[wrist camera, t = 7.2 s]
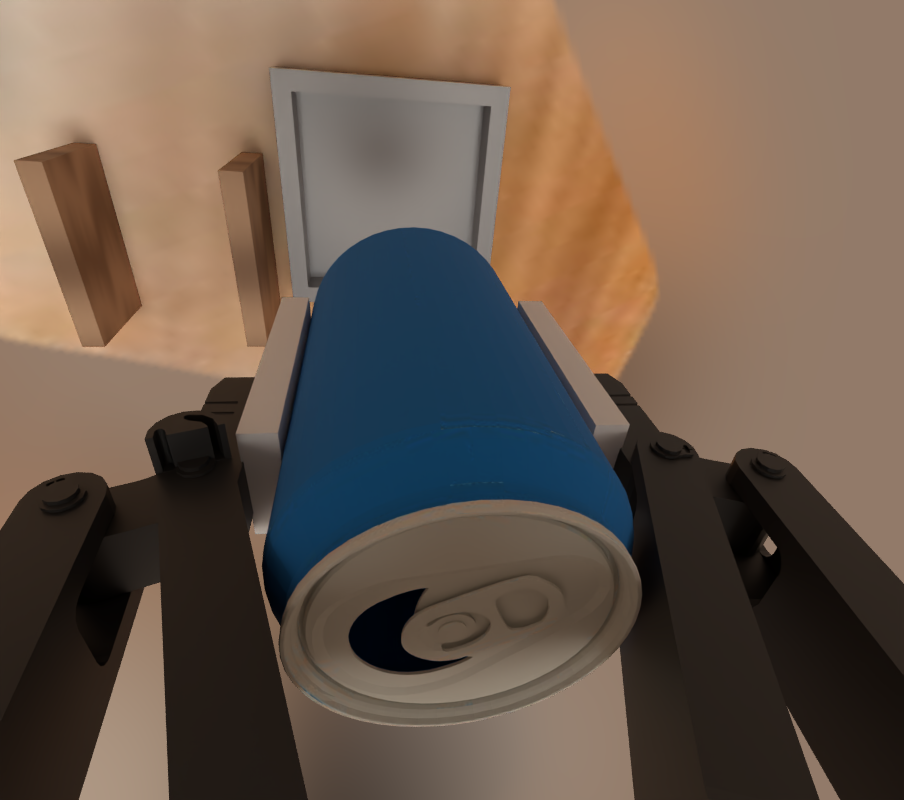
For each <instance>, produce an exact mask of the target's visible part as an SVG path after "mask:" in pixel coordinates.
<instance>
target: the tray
mask: <svg viewBox="0 0 904 800" xmlns="http://www.w3.org/2000/svg"><path fill="white" fill-rule="evenodd" d="M269 72H270V82H271V91H272V100H273V110H274V119H275V129H276V138H277V148H278V157H279V167H280V176H281V186H282V195H283V204H284V214H285V223H286V233H287V242H288V252H289V261H290V271H291V280H292V290H293V297H305V298H309V302H315V298H316V295H317V291H318V288H319V286H320V284H321V282H322V279H323V277H324V276H325V274H326V273H327V271H328V270H329V268H330V267H331V265H332V264H333V263H334V262H335V261H336V260H337V258H338V257H339V256H341V255H342V254H343V253H344V252H345V251H346V250H347V249H348V248H350V247H351V246H353V245H354V244H356V243H358V242H359V241H361V240H363V239H365V238H367V237H369V236H371V235H373V234H376V233H380V232H383V231H386V230H391V229H397V228H408V227H417V228H428V229H433V230H437V231H441V232H444V233H447V234H449V235H452V236H455V237H457V238H458V239H460V240H462V241H464V242H466V243H467V244H469V245H470V246H471V247H473V248H474V249H475V250H477V251H478V252H479V253H480V254H481V255H482V256H483V257H484V258H485V259H486V260H487V262H488V263H489V264H490V261H491V252H492V244H493V235H494V226H495V218H496V209H497V201H498V192H499V183H500V175H501V166H502V158H503V149H504V140H505V132H506V123H507V115H508V106H509V97H510V89H511V87H507V86H502V85H492V84H480V83H468V82H455V81H443V80H431V79H419V78H406V77H394V76H382V75H370V74H358V73H345V72H333V71H321V70H309V69H296V68H284V67H270V68H269Z"/></svg>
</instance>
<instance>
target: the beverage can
mask: <svg viewBox="0 0 904 800" xmlns="http://www.w3.org/2000/svg"><path fill="white" fill-rule="evenodd" d="M633 542H634V527H633V516H632V510H631V507H630V503H629V500H628V497H627V493H626V491H625V489H624V487H623V485H622V484H621V482H620V480H619V478H618V476H617V475H616V473H615V471H614V470H613V468H612V466H611V465H610V463H609V461H608V460H607V458H606V456H605V455H604V453H603V451H602V450H601V448H600V446H599V445H598V443H597V441H596V440H595V438H594V436H593V435H592V433H591V431H590V430H589V428H588V426H587V425H586V423H585V421H584V420H583V418H582V416H581V415H580V413H579V411H578V410H577V408H576V406H575V405H574V403H573V401H572V400H571V398H570V396H569V395H568V393H567V391H566V390H565V388H564V386H563V385H562V383H561V381H560V380H559V378H558V376H557V375H556V373H555V371H554V370H553V368H552V366H551V365H550V363H549V361H548V360H547V358H546V356H545V355H544V353H543V351H542V350H541V348H540V346H539V345H538V343H537V341H536V340H535V338H534V336H533V335H532V333H531V331H530V330H529V328H528V326H527V325H526V323H525V321H524V320H523V318H522V316H521V315H520V313H519V311H518V310H517V308H516V306H515V305H514V303H513V301H512V300H511V298H510V296H509V295H508V293H507V291H506V290H505V288H504V286H503V285H502V283H501V281H500V280H499V278H498V276H497V275H496V273H495V271H494V270H493V268H492V267H491V266H490V264H489V263H488V262H487V260H486V259H485V258H484V257H483V256H482V255H481V254H480V253H479V252H478V251H477V250H475V249H474V248H473V247H471V246H470V245H469V244H467V243H466V242H464V241H462V240H460V239H458V238H457V237H455V236H452V235H449V234H447V233H444V232H441V231H437V230H433V229H428V228H417V227H408V228H397V229H391V230H386V231H383V232H380V233H376V234H373V235H371V236H369V237H367V238H365V239H363V240H361V241H359V242H358V243H356V244H354V245H353V246H351V247H350V248H348V249H347V250H346V251H345V252H344V253H343V254H342V255H341V256H339V257H338V258H337V260H336V261H335V262H334V263H333V264H332V265H331V267H330V268H329V270H328V271H327V273H326V274H325V276H324V277H323V279H322V282H321V284H320V286H319V288H318V291H317V295H316V298H315V302H314V307H313V311H312V316H311V321H310V326H309V331H308V336H307V341H306V345H305V350H304V355H303V360H302V365H301V370H300V375H299V379H298V384H297V389H296V394H295V399H294V404H293V409H292V414H291V418H290V423H289V428H288V433H287V438H286V443H285V448H284V452H283V457H282V462H281V467H280V472H279V477H278V482H277V486H276V491H275V496H274V501H273V506H272V511H271V516H270V521H269V525H268V530H267V535H266V540H265V545H264V551H263V562H262V570H263V579H264V586H265V591H266V595H267V598H268V600H269V603H270V606H271V609H272V612H273V614H274V616H275V617H276V619H277V620H278V622H279V624H280V626H281V627H280V635H279V652H280V659H281V661H282V664H283V667H284V670H285V672H286V673H287V675H288V676H289V678H290V679H291V681H292V683H293V684H295V685H296V687H297V688H298V689H299V690H300V691H301V692H302V693H303V694H305V695H306V696H307V697H309V698H310V699H311V700H313V701H314V702H316V703H317V704H319V705H321V706H323V707H325V708H327V709H328V710H331V711H333V712H336V713H338V714H341V715H343V716H346V717H350V718H353V719H357V720H360V721H365V722H370V723H376V724H382V725H392V726H409V727H427V726H443V725H453V724H460V723H467V722H473V721H478V720H483V719H488V718H492V717H496V716H500V715H503V714H507V713H510V712H513V711H516V710H519V709H522V708H525V707H528V706H531V705H533V704H535V703H538V702H540V701H542V700H545V699H547V698H549V697H551V696H553V695H555V694H557V693H559V692H561V691H563V690H565V689H567V688H569V687H570V686H572V685H574V684H575V683H577V682H579V681H580V680H582V679H583V678H584V677H586V676H587V675H589V674H590V673H591V672H593V671H594V670H596V669H597V668H598V667H599V666H600V665H601V664H603V663H604V662H605V661H606V660H607V659H608V658H609V657H610V656H611V655H612V654H613V653H614V652H615V651H616V650H617V649H618V648H619V647H620V645H621V644H622V643H623V641H624V640H625V639H626V637H627V636H628V634H629V633H630V631H631V629H632V627H633V625H634V623H635V622H636V619H637V616H638V613H639V610H640V607H641V600H642V585H641V579H640V576H639V573H638V570H637V567H636V565H635V563H634V561H633V559H632V558H631V557H632V551H633Z"/></svg>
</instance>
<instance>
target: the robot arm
mask: <svg viewBox="0 0 904 800" xmlns="http://www.w3.org/2000/svg"><path fill="white" fill-rule="evenodd" d="M517 310H518V311H519V313H520V315H521V316H522V318H523V320H524V321H525V323H526V325H527V326H528V328H529V330H530V331H531V333H532V335H533V336H534V338H535V340H536V341H537V343H538V345H539V346H540V348H541V350H542V351H543V353H544V355H545V356H546V358H547V360H548V361H549V363H550V365H551V366H552V368H553V370H554V371H555V373H556V375H557V376H558V378H559V380H560V381H561V383H562V385H563V386H564V388H565V390H566V391H567V393H568V395H569V396H570V398H571V400H572V401H573V403H574V405H575V406H576V408H577V410H578V411H579V413H580V415H581V416H582V418H583V420H584V421H585V423H586V425H587V426H588V428H589V430H590V431H591V433H592V435H593V436H594V438H595V440H596V441H597V443H598V445H599V446H600V448H601V450H602V451H603V453H604V455H605V456H606V458H607V460H608V461H609V463H610V465H611V466H612V468H613V470H614V471H615V473H616V475H617V476H618V478H619V480H620V482H621V484H622V485H623V487H624V489H625V491H626V493H627V497H628V500H629V503H630V507H631V510H632V516H633V527H634V542H633V551H632V557H631V558H632V559H633V561H634V563H635V565H636V567H637V570H638V573H639V576H640V579H641V585H642V600H641V607H640V610H639V613H638V616H637V619H636V622H635V623H634V625H633V627H632V629H631V631H630V633H629V634H628V636H627V637H626V639H625V640H624V641H623V643H622V644H621V645H620V654H621V664H622V674H623V685H624V695H625V705H626V715H627V726H628V736H629V747H630V757H631V766H632V777H633V787H634V798H635V800H819V797H818V794H817V791H816V788H815V785H814V783H813V780H812V777H811V774H810V771H809V768H808V766H807V763H806V760H805V757H804V754H803V751H802V748H801V746H800V743H799V740H798V737H797V734H796V731H795V729H794V726H793V723H792V720H791V717H790V714H789V711H790V712H791V714H792V716H793V718H794V720H795V721H796V723H797V725H798V726H799V728H800V730H801V732H802V734H803V735H804V737H805V739H806V741H807V742H808V744H809V746H810V748H811V749H812V751H813V753H814V755H815V756H816V758H817V760H818V761H819V763H820V765H821V767H822V769H823V770H824V772H825V774H826V776H827V777H828V779H829V781H830V783H831V784H832V786H833V788H834V789H835V791H836V793H837V795H838V797H839V798H840V800H904V584H903V582H902V581H901V580H900V579H899V578H898V577H897V576H896V575H895V574H894V573H893V572H892V571H891V569H890V568H889V567H888V566H887V565H886V564H885V563H884V562H883V561H882V560H881V559H880V558H879V557H878V555H877V554H876V553H875V552H874V551H873V550H872V549H871V548H870V547H869V546H868V545H867V544H866V543H865V542H864V541H863V539H862V538H861V537H860V536H859V535H858V534H857V533H856V532H855V531H854V530H853V529H852V527H850V525H849V524H848V523H847V522H846V521H845V520H844V519H843V518H842V517H841V516H840V515H839V513H838V512H837V511H836V510H835V509H834V508H833V507H832V506H831V505H830V504H829V503H828V502H827V501H826V499H825V498H824V497H823V496H822V495H821V494H820V493H819V492H818V491H817V490H816V489H815V488H814V487H813V485H812V484H811V483H810V482H809V481H808V480H807V479H806V478H805V477H804V476H803V475H802V474H801V472H800V471H799V470H798V469H797V468H796V467H795V466H793V465H792V464H791V463H790V462H789V461H787V460H786V459H784V458H782V457H780V456H778V455H777V454H775V453H772V452H769V451H766V450H761V449H754V448H748V449H741V450H740V451H739V452H737V453H736V455H735V457H734V459H733V461H732V463H731V464H729V463H724V462H718V461H712V460H707V459H702V458H699V456H698V454H697V452H696V451H695V449H694V448H693V447H692V446H691V445H690V444H689V443H687V442H686V441H685V440H683V439H680V438H678V437H676V436H674V435H671V434H667V433H663V432H659V430H658V429H657V428H656V426H655V425H654V424H653V423H652V421H651V420H650V419H649V418H648V416H647V415H646V414H645V412H644V411H643V410H642V409H641V407H640V406H637V402H636V401H635V400H634V398H633V397H630V393H629V392H628V391H627V389H626V388H625V387H624V386H623V384H622V383H621V382H619V381H618V380H616V379H615V378H613V377H612V376H610V375H609V374H593V372H592V371H591V370H590V368H589V367H588V365H587V364H586V363H585V361H584V360H583V358H582V357H581V356H580V354H579V353H578V351H577V350H576V349H575V347H574V346H573V344H572V343H571V342H570V340H569V339H568V338H567V336H566V335H565V333H564V332H563V331H562V329H561V328H560V326H559V325H558V324H557V322H556V321H555V319H554V318H553V317H552V315H551V314H550V312H549V311H548V310H547V308H546V307H545V305H544V304H543V303H542V301H519V302H518V308H517ZM310 321H311V314H310V303H309V298H305V297H282V300H281V303H280V306H279V309H278V311H277V314H276V317H275V320H274V323H273V326H272V329H271V332H270V335H269V338H268V341H267V344H266V346H265V349H264V352H263V355H262V358H261V361H260V364H259V367H258V370H257V373H256V376H255V377H241V378H224V379H223V380H222V381H220V382H219V383H218V384H217V385H216V386H214V387H213V388H212V389H211V390H210V392H209V394H208V397H207V399H206V401H205V404H204V405H203V407H202V410H201V411H188V412H181V413H177V414H174V415H170V416H168V417H166V418H164V419H162V420H160V421H159V422H156V423H155V424H154V425H153V426H152V427H151V428H150V429H149V430H148V431H147V434H146V437H145V442H146V445H147V448H148V451H149V454H150V457H151V460H152V463H153V466H154V470H155V473H156V475H154V476H152V477H149V478H146V479H143V480H140V481H136V482H132V483H128V484H124V485H119V486H115V487H111V488H109V487H108V485H107V483H106V482H105V480H104V479H103V477H101V476H98V475H96V474H93V473H83V472H76V473H71V474H65V475H60V476H58V477H55V478H52V479H50V480H47V481H45V482H43V483H41V484H39V485H38V486H36V487H35V488H33V489H31V490H30V491H29V492H27V494H26V495H25V496H24V497H23V498H22V499H21V500H20V501H19V502H18V504H17V506H16V507H15V508H14V510H13V511H12V513H11V515H10V516H9V518H8V519H7V521H6V522H5V524H4V526H3V527H2V528H1V530H0V800H79V797H80V793H81V790H82V787H83V784H84V781H85V777H86V774H87V771H88V768H89V765H90V761H91V758H92V755H93V752H94V748H95V745H96V742H97V739H98V735H99V732H100V729H101V726H102V723H103V719H104V716H105V713H106V709H107V706H108V703H109V700H110V697H111V693H112V690H113V687H114V684H115V680H116V677H117V674H118V670H119V668H120V664H121V661H122V658H123V655H124V651H125V648H126V645H127V641H128V638H129V635H130V632H131V629H132V625H133V622H134V619H135V616H136V612H137V609H138V606H139V603H140V600H141V596H142V593H143V590H144V587H146V586H149V585H152V584H156V583H159V582H160V583H161V608H162V632H163V658H164V682H165V706H166V729H167V730H166V731H167V756H168V780H169V800H308V798H307V794H306V789H305V785H304V781H303V776H302V772H301V767H300V763H299V758H298V753H297V749H296V744H295V740H294V735H293V731H292V726H291V722H290V717H289V713H288V708H287V704H286V699H285V695H284V690H283V686H282V681H281V677H280V672H279V667H278V663H277V658H276V654H275V649H274V645H273V640H272V636H271V631H270V627H269V623H268V618H267V614H266V609H265V605H264V600H263V596H262V591H261V586H260V582H259V577H258V573H257V568H256V564H255V559H254V555H253V550H252V546H251V541H250V537H249V530H250V526H251V521H252V519H253V524H254V529H255V534H264V533H265V534H266V533H267V530H268V525H269V521H270V516H271V511H272V506H273V501H274V496H275V491H276V486H277V482H278V477H279V472H280V467H281V462H282V457H283V452H284V448H285V443H286V438H287V433H288V428H289V423H290V418H291V414H292V409H293V404H294V399H295V394H296V389H297V384H298V379H299V375H300V370H301V365H302V360H303V355H304V350H305V345H306V341H307V336H308V331H309V326H310ZM768 536H769V537H770V538H771V540H772V541H773V542H774V544H775V545H776V546H777V549H776V551H775V552H774V554H772V555H771V554H770V553H769V552H768V551H767V550H766V548H765V547H764V546H763V544H764V542H765V541H766V539H767V537H768ZM787 707H788V709H789V711H788V709H787Z"/></svg>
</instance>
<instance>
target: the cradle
mask: <svg viewBox="0 0 904 800" xmlns="http://www.w3.org/2000/svg"><path fill="white" fill-rule="evenodd" d="M14 163H15V165H16V168H17V171H18V174H19V176H20V179H21V182H22V184H23V187H24V190H25V192H26V195H27V198H28V201H29V203H30V206H31V209H32V211H33V214H34V217H35V220H36V222H37V225H38V228H39V230H40V233H41V236H42V239H43V241H44V244H45V247H46V249H47V252H48V255H49V257H50V260H51V263H52V266H53V268H54V271H55V274H56V276H57V279H58V282H59V285H60V287H61V290H62V293H63V295H64V298H65V301H66V304H67V306H68V309H69V312H70V314H71V317H72V320H73V322H74V325H75V328H76V331H77V333H78V336H79V339H80V341H81V344H82V347H105V346H106V345H107V344H108V343H109V342H110V340H111V339H112V338H113V337H114V336H115V335H116V334H117V333H118V332H119V330H120V329H121V328H122V327H123V326H124V325H125V324H126V323H127V322H128V320H129V319H130V318H131V317H132V316H133V315H134V314H135V313H136V311H137V310H138V309H139V308H140V307H141V306H142V305H141V302H140V298H139V295H138V291H137V288H136V284H135V281H134V277H133V273H132V270H131V266H130V263H129V259H128V256H127V252H126V249H125V245H124V242H123V238H122V235H121V231H120V228H119V224H118V220H117V217H116V213H115V210H114V206H113V203H112V199H111V196H110V192H109V189H108V185H107V182H106V178H105V175H104V171H103V167H102V164H101V160H100V157H99V153H98V150H97V146H96V144H83V143H71V144H68V145H64V146H61V147H58V148H54V149H51V150H47V151H44V152H41V153H37V154H34V155H30V156H27V157H24V158H20V159H17V160H14ZM218 174H219V180H220V186H221V192H222V198H223V204H224V210H225V216H226V222H227V228H228V234H229V240H230V246H231V252H232V258H233V263H234V269H235V275H236V281H237V287H238V293H239V299H240V305H241V311H242V317H243V323H244V329H245V335H246V341H247V347H265V346H266V344H267V341H268V338H269V335H270V332H271V329H272V326H273V323H274V320H275V317H276V314H277V311H278V309H279V306H280V295H279V286H278V278H277V270H276V262H275V253H274V245H273V237H272V229H271V220H270V212H269V204H268V196H267V187H266V179H265V171H264V163H263V154H262V153H244V152H241V153H240V154H239V155H238V156H236V157H235V158H234V159H232V160H231V161H230V162H228V163H227V164H226V165H225V166H223V167H222V168H221V169H219V170H218Z"/></svg>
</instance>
